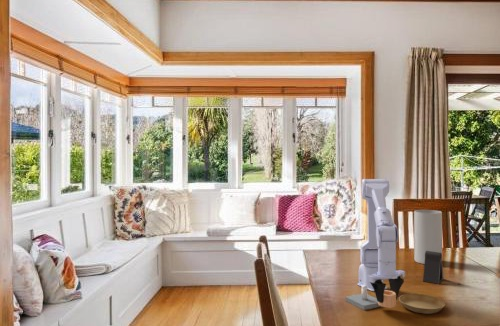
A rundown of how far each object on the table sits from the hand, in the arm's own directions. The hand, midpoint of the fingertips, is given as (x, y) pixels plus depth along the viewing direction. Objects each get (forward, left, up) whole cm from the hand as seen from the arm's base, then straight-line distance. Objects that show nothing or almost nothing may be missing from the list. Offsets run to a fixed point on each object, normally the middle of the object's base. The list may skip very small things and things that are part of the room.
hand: (386, 300), depth 137 cm
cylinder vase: (-39, +64, -4) cm, 75 cm away
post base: (-9, -2, -4) cm, 10 cm away
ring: (0, 0, -1) cm, 1 cm away
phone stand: (-17, +42, -4) cm, 45 cm away
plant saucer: (+3, +13, -4) cm, 14 cm away
